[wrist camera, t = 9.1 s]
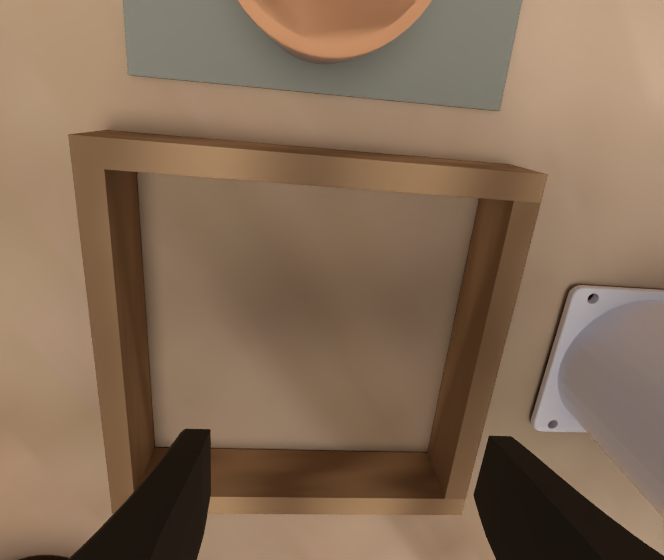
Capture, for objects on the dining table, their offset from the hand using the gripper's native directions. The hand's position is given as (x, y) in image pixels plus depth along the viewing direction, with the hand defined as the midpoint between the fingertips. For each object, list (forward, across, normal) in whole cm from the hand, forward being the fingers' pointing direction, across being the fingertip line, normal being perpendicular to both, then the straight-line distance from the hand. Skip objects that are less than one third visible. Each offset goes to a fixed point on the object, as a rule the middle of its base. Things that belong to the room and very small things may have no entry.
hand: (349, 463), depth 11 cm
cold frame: (+9, +1, +1) cm, 10 cm away
